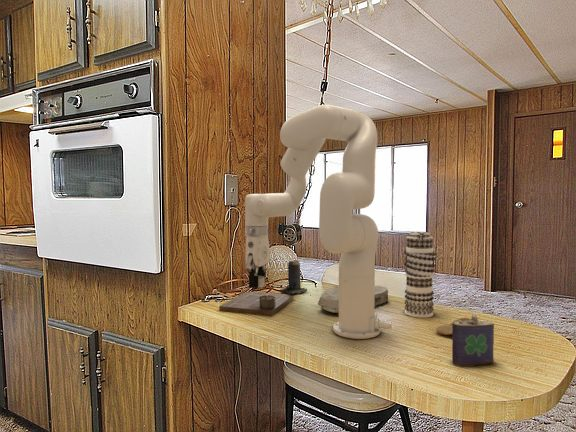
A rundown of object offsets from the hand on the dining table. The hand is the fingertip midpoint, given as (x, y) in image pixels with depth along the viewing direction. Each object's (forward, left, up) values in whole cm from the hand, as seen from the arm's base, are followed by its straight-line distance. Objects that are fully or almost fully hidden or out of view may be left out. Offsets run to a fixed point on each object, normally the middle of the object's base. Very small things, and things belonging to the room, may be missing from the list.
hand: (257, 284), depth 138 cm
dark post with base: (-6, -20, -7) cm, 22 cm away
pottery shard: (-62, +8, -7) cm, 63 cm away
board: (0, 0, -7) cm, 7 cm away
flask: (-64, +27, -7) cm, 70 cm away
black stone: (-6, +6, -5) cm, 10 cm away
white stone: (0, 0, 0) cm, 0 cm away
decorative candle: (-51, -7, -7) cm, 52 cm away
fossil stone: (-30, -9, -7) cm, 32 cm away
